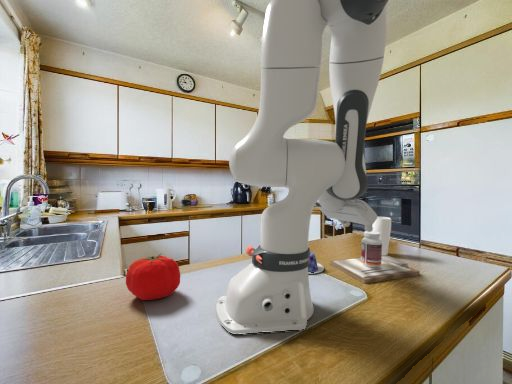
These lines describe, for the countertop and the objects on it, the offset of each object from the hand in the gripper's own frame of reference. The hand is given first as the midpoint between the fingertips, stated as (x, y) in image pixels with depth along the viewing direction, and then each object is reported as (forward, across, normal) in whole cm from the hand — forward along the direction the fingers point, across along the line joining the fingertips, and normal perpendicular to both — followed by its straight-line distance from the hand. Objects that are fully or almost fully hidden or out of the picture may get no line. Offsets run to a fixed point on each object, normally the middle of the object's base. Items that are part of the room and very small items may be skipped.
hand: (358, 227), depth 76 cm
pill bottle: (+14, 0, +5) cm, 14 cm away
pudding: (+1, +8, +21) cm, 22 cm away
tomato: (-32, +4, +54) cm, 63 cm away
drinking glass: (+26, +12, -6) cm, 29 cm away
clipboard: (+15, 0, +6) cm, 16 cm away
